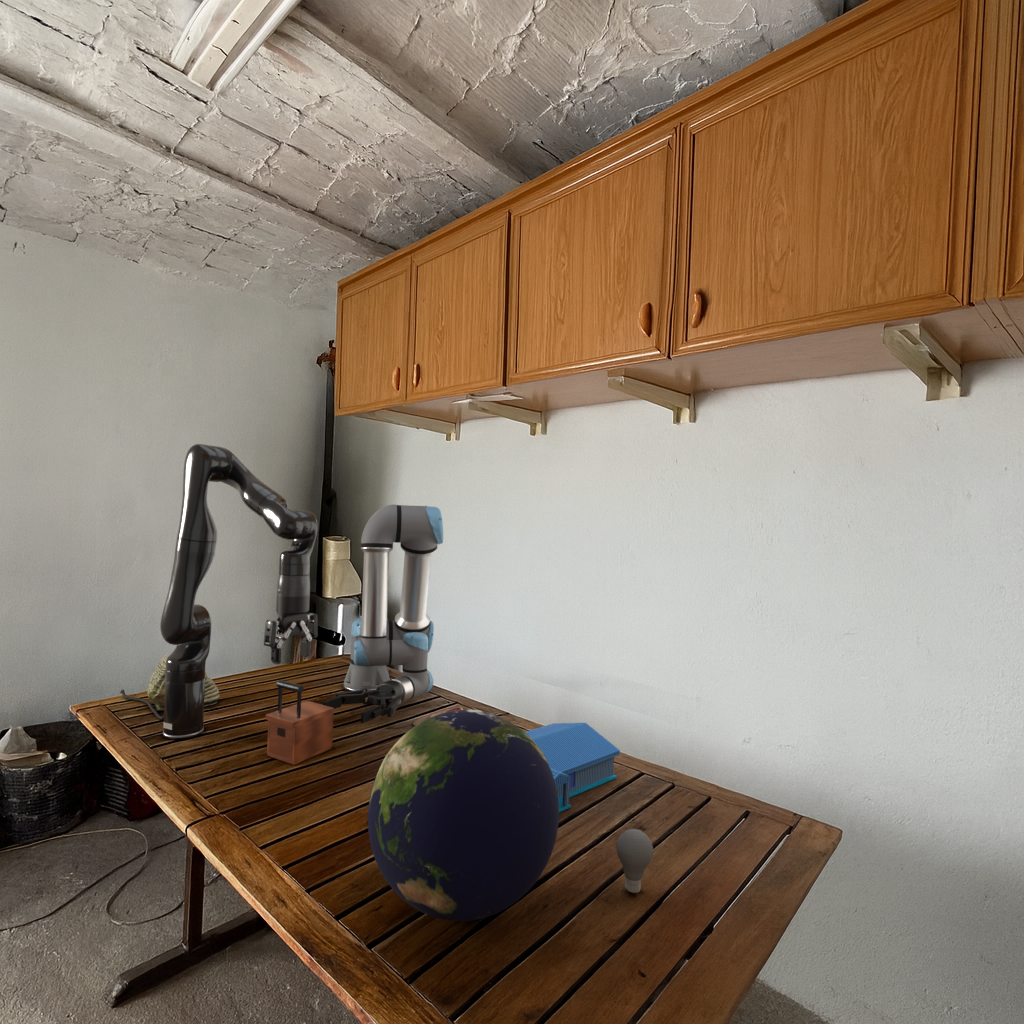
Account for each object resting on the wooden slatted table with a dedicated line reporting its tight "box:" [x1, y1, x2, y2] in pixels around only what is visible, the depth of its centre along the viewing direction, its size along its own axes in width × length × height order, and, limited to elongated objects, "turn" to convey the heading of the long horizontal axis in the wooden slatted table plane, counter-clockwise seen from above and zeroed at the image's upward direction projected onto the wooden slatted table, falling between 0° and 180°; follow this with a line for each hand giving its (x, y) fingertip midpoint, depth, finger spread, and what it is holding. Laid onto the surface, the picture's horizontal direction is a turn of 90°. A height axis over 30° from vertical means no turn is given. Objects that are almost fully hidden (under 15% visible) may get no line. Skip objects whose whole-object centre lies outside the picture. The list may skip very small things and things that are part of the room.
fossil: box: [147, 654, 221, 712], centre depth 185 cm, size 9×18×15 cm, turn 132°
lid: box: [265, 679, 335, 728], centre depth 156 cm, size 13×9×9 cm
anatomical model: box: [412, 706, 464, 727], centre depth 179 cm, size 13×4×12 cm
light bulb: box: [615, 828, 654, 894], centre depth 106 cm, size 6×6×10 cm
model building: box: [524, 722, 621, 813], centre depth 143 cm, size 39×24×10 cm, turn 132°
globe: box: [367, 709, 560, 922], centre depth 100 cm, size 30×30×30 cm
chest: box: [266, 713, 335, 766], centre depth 156 cm, size 12×9×9 cm
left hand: (290, 659), depth 152 cm, fingers open, 8 cm apart
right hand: (342, 712), depth 166 cm, fingers open, 13 cm apart
